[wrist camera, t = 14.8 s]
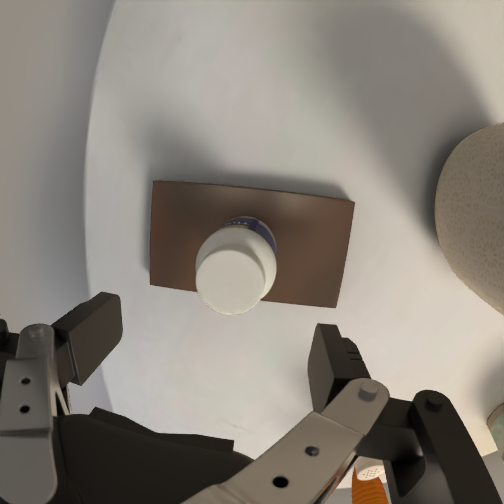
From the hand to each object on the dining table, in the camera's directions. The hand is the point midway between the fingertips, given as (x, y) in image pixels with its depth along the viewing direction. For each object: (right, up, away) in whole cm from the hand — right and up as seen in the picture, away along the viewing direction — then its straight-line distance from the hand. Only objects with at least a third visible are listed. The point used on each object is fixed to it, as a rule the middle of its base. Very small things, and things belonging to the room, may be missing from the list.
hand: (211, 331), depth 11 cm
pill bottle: (+1, +4, +15) cm, 16 cm away
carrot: (+18, -28, +23) cm, 41 cm away
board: (+1, +4, +16) cm, 17 cm away
